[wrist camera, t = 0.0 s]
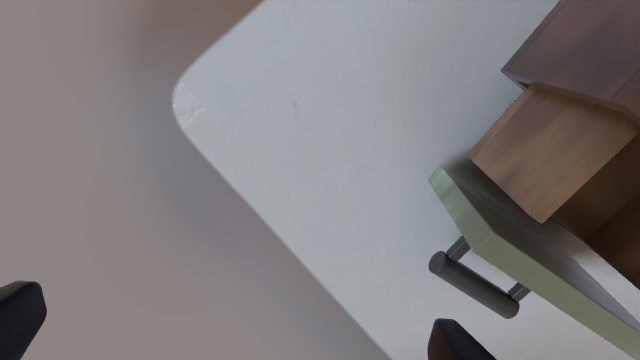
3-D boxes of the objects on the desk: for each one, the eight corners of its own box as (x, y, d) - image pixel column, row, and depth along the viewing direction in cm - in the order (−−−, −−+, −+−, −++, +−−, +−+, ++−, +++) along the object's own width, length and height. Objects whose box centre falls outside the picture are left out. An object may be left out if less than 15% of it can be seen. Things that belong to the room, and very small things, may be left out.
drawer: (514, 307, 26) (585, 415, 19) (386, 225, 24) (411, 312, 17) (732, 118, 21) (945, 168, 14) (594, -12, 19) (762, -34, 11)
